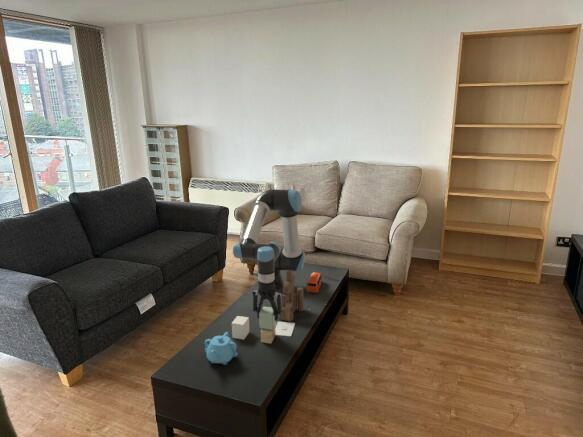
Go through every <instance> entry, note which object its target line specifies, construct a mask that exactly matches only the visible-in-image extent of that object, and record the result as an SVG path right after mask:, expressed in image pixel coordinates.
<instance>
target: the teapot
mask: <svg viewBox="0 0 583 437" xmlns="http://www.w3.org/2000/svg"><path fill="white" fill-rule="evenodd" d="M229 333H230V332H228V331H226V332H224V334H223V335H214V336H213V337H212V338H208V339H207V338H206V339H205V341H204V346H205V348H204V352H205V353H206V358H207V360H208V361H209V362H210V363H211V364H222V365H223V366H226V365H228V363H229V362H230V361H231V360H232V359H233V358H234V357H237V356H238V354H239V353H238V352H237V351H236V350H237V344H236V343H235V342H234V341H233V339H232V338H230V336H229V335H230V334H229ZM208 342H209V344H208Z"/></svg>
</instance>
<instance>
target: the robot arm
mask: <svg viewBox="0 0 583 437" xmlns="http://www.w3.org/2000/svg"><path fill="white" fill-rule="evenodd" d="M251 207H252V209H251V210H252V211H251V215H250V216H249V220H248V222H247V225H246V228H245V230H244V233H243V234H242V238H241V241H240V242H235V243H234V244H233V246H232V254H233V257H234V258H236V259H242V260H243V259H244V260H257V279H258V282H257V283H258V289H253V291H252V293H251V294H252V296H253V298H252V299H253V300H252V302H253V306H252V311H254V312H256V313H257V314H256V317H257V319H259V320H258V322H259V323H258V324H259V326H260V316H259V312H260V311H261V310H262V308H263V304H264V301H265V300H268V302H269V303H270V307H272V309H273V312H274V314H273V327H274V328H276V325H277V322H278V319H279V314H280V313H281V312H282V295H283V292H277V291H276V290H279V289H281V288H283V284H284V282H285V280H284V278H283V275H282V273H281V271H285V272H286V271H287V270H288V271H291V272H301V271H303V269H304V265H305V259H306V252H304V251H303V250H302V248H301V247H300V244H299V243H300V242H299V240H300V239H299V230H298V228H299V227H298V218H297V217H298V215H299V214H300V212H301V211H302V208H303V204H302V196H301V193H300V191H298V190H296V189H274V188H272V189H271V188H270V189H267V190H265V191H263V192H262V193H261V194H259V195H258V196H257V197H256V199H255V200H254V201H253V204H252V206H251ZM270 211H271V212H272V211H275V212H276V211H277V213H278V216H279V217H281V218H280V219H281V224H282V225H281V226H282V235H283V245H284V248H283V249H282V248H281V246H280V245H279V243H278V242H275V241H271V242H269V243H266V244H265V243H258V240H259V238H260V234H261V231H262V228H263V226H264V223H265V220H266V217H267V215H269V213H270ZM258 295H259V296H260V299H259V303H258ZM275 298H276V301H275Z"/></svg>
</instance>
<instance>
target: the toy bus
mask: <svg viewBox="0 0 583 437" xmlns="http://www.w3.org/2000/svg"><path fill="white" fill-rule="evenodd" d="M322 283H323V276H322V273H320V272H314V271H313V272H312V273H311V274H310V276H309V277H308V280H307V282H306V293H309V294H311V293H316V294H317V293H320V287H321V285H322Z"/></svg>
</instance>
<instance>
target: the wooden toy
mask: <svg viewBox="0 0 583 437" xmlns="http://www.w3.org/2000/svg"><path fill="white" fill-rule="evenodd" d="M285 272H286V274H285V275H286V277H285V278H286V280H284V284H283V286H282V295H281V306H282V312H281V313H280V314H278V319H279V320H280V321H283V322H289V323H292V321H293V320H294V313H295V312H296V311H299V312H303V311H304V288H303V287H297V291H296V292H297V293H295V279H296V278H297V276H296V275H295V274H294V273H293V271H288V270H287V271H285Z"/></svg>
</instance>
